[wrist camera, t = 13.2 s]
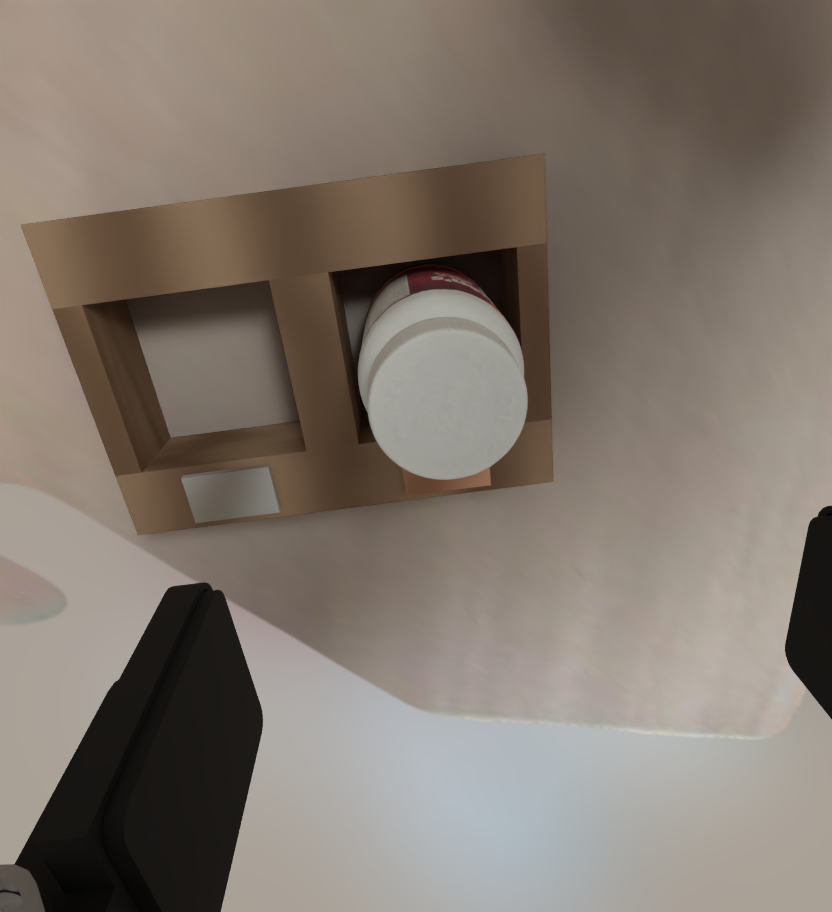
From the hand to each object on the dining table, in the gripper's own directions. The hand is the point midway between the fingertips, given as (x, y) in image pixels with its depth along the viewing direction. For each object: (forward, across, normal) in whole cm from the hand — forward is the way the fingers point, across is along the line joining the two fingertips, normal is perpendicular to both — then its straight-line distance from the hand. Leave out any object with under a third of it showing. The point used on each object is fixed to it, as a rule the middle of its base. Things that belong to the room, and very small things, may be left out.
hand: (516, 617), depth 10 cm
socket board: (+21, +5, 0) cm, 22 cm away
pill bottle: (+22, 0, 0) cm, 22 cm away
